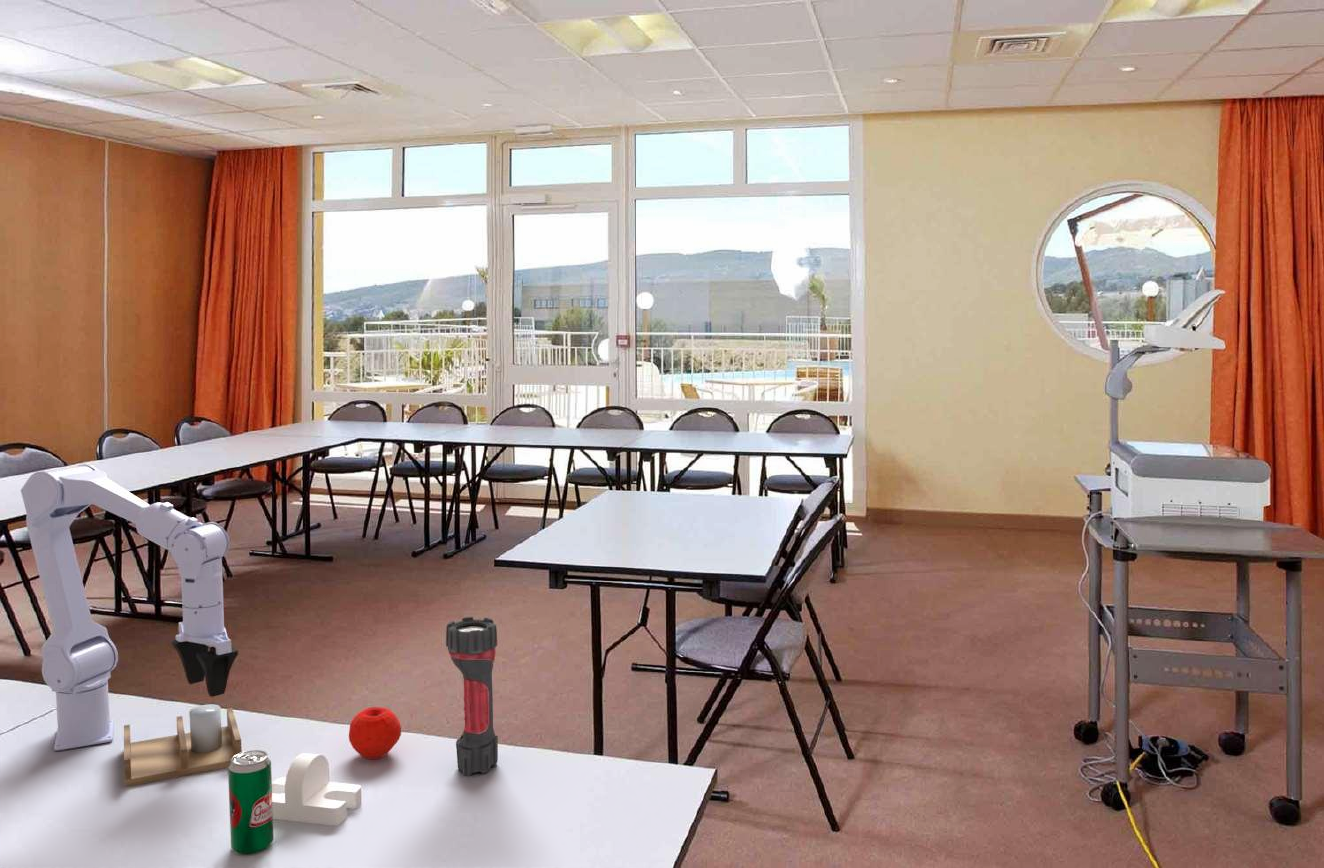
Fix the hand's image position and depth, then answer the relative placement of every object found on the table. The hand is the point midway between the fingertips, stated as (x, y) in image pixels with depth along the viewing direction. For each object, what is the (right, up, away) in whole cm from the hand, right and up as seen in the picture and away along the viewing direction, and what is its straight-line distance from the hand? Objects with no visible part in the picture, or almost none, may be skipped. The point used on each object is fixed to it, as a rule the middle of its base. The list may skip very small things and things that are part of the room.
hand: (206, 688), depth 150 cm
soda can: (+18, -14, -26) cm, 35 cm away
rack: (-3, -11, -1) cm, 11 cm away
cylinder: (0, -9, +1) cm, 9 cm away
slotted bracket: (+22, -13, -16) cm, 30 cm away
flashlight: (+42, -12, -4) cm, 44 cm away
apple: (+26, -11, +1) cm, 28 cm away
